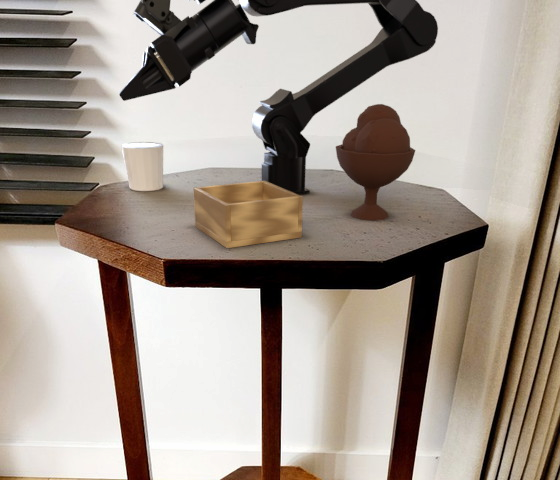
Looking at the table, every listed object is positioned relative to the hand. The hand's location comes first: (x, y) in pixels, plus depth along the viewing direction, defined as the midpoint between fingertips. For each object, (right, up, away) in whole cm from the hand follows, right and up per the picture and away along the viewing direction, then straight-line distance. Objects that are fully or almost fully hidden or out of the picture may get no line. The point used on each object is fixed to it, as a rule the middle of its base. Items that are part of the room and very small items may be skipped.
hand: (121, 97), depth 88 cm
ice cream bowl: (+37, -17, +1) cm, 41 cm away
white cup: (0, -9, +15) cm, 18 cm away
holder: (+19, -22, -8) cm, 30 cm away
